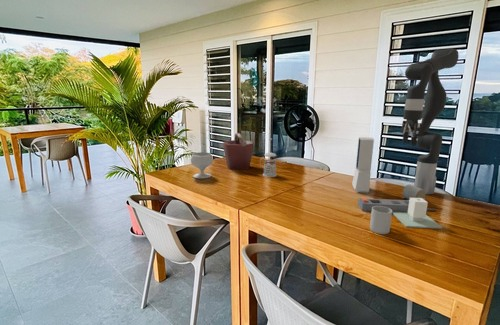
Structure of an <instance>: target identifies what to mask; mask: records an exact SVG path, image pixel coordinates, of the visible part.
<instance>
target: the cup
mask: <svg viewBox="0 0 500 325" xmlns="http://www.w3.org/2000/svg"><path fill="white" fill-rule="evenodd" d="M370 212H371V213H370V224H369V229H370V231H371V232H373V233H375V234H378V235H387V234H389V233H390V230H391V223H392V216H393V214H392V210H391V209H390V208H387V207H384V206H373V207H372V211H370Z"/></svg>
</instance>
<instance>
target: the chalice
mask: <svg viewBox="0 0 500 325" xmlns="http://www.w3.org/2000/svg"><path fill="white" fill-rule="evenodd" d="M213 161H214V160H213V156H212V154H211V153H210V152H202V151H201V152H200V151H199V152H194V153H192V155H191V158H190V164H191V165H192V166H194V167H196V168H198V169H199V170H200V173H196V174H193V175H192V177H193V178H194V179H199V180H200V179H208V178H211V177H213V176H212V174H211V173H205V172H204V171H205V170H206V169H207V168H208V167H210V166H211V165H212V164H213V163H214V162H213Z"/></svg>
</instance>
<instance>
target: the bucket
mask: <svg viewBox="0 0 500 325" xmlns="http://www.w3.org/2000/svg"><path fill="white" fill-rule="evenodd" d="M222 147H223V152H224V156H225V162H226V166H227V168H228V169H230V170H237V171H238V170H239V171H242V170H248V169H250V166H251V162H252V156H253V152H254V141H253V140H252V141H251V140H246V139H244V137H243V135H242V134H241V133H239V132H237V133H235V134H234V140H233V139H232V140H226V141H223V142H222Z"/></svg>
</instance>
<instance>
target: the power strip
mask: <svg viewBox="0 0 500 325" xmlns="http://www.w3.org/2000/svg"><path fill="white" fill-rule="evenodd" d="M357 206H358V207H359V209H360V210H361V211H363V212H372V207H373V206H384V207H387V208H390V209H391V210H392V212H404V213H408V206H409V200H408V199H386V198H384V199H383V198H358V200H357ZM429 211H430V212H435V211H436V209H435V208H427V211H426V212H429Z"/></svg>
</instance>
